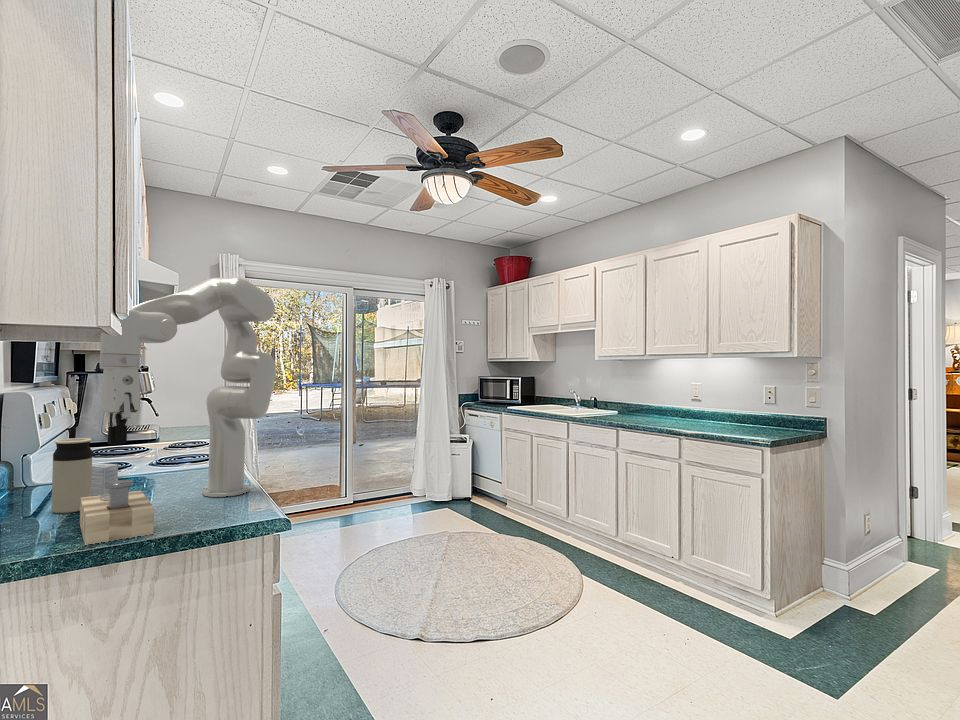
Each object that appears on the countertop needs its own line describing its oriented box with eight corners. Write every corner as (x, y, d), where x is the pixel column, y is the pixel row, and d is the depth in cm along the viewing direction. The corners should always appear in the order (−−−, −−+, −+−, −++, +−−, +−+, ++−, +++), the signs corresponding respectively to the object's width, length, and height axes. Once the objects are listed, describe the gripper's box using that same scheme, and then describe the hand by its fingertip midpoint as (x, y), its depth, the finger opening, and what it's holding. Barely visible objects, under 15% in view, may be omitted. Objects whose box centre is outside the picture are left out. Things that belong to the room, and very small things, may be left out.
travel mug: (87, 511, 131) (89, 440, 132) (47, 515, 128) (49, 442, 128) (93, 504, 138) (95, 437, 139) (55, 507, 135) (57, 438, 135)
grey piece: (102, 511, 114) (103, 482, 114) (130, 507, 118) (131, 479, 118) (104, 516, 110) (105, 486, 110) (133, 512, 114) (134, 483, 114)
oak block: (79, 523, 121) (80, 497, 121) (140, 514, 129) (140, 490, 129) (84, 545, 106) (85, 516, 106) (153, 534, 114) (153, 507, 114)
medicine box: (118, 494, 150) (119, 464, 150) (103, 497, 146) (104, 466, 146) (96, 492, 152) (97, 462, 152) (81, 495, 148) (82, 465, 148)
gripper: (152, 363, 116) (149, 445, 115) (126, 363, 125) (123, 439, 124) (113, 362, 110) (109, 448, 109) (89, 362, 119) (85, 442, 118)
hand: (117, 443), depth 116 cm, fingers closed
